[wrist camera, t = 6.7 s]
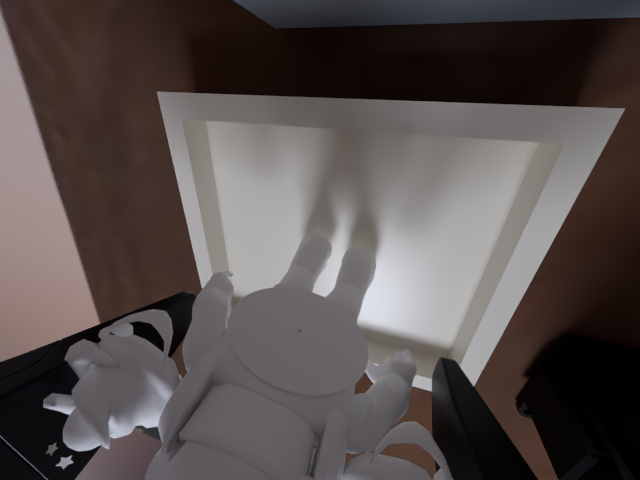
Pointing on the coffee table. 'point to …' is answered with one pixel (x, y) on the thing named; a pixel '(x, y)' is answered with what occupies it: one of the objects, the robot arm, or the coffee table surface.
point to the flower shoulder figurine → (253, 384)
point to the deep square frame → (430, 11)
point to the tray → (386, 204)
